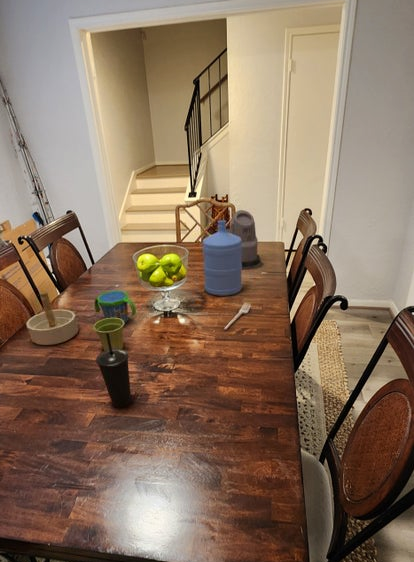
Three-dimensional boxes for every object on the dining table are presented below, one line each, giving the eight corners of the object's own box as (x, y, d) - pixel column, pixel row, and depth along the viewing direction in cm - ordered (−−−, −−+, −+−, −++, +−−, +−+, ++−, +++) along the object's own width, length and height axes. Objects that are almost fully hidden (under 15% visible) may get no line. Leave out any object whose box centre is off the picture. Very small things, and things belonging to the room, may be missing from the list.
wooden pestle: (47, 336, 127) (34, 295, 119) (50, 330, 130) (38, 290, 123) (60, 335, 127) (48, 294, 119) (62, 329, 131) (51, 289, 123)
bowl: (26, 348, 121) (20, 332, 118) (38, 326, 135) (33, 311, 132) (74, 343, 123) (70, 327, 120) (81, 322, 136) (78, 307, 133)
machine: (266, 266, 180) (268, 213, 167) (236, 271, 176) (235, 217, 163) (241, 250, 204) (242, 203, 191) (214, 254, 200) (212, 206, 187)
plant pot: (134, 343, 121) (130, 319, 117) (117, 358, 114) (112, 333, 109) (110, 339, 124) (105, 316, 120) (92, 353, 117) (86, 329, 112)
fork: (220, 329, 127) (220, 324, 126) (243, 306, 141) (243, 302, 140) (229, 331, 125) (229, 326, 124) (251, 308, 140) (251, 303, 139)
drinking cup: (110, 392, 99) (95, 326, 89) (139, 392, 99) (127, 325, 88) (102, 411, 93) (85, 342, 82) (133, 411, 92) (119, 341, 82)
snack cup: (91, 324, 134) (85, 299, 129) (109, 313, 142) (104, 288, 137) (126, 332, 128) (121, 305, 123) (143, 319, 136) (139, 293, 131)
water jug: (237, 297, 149) (237, 226, 134) (200, 295, 153) (196, 225, 138) (244, 283, 161) (245, 216, 147) (210, 281, 165) (207, 216, 151)
